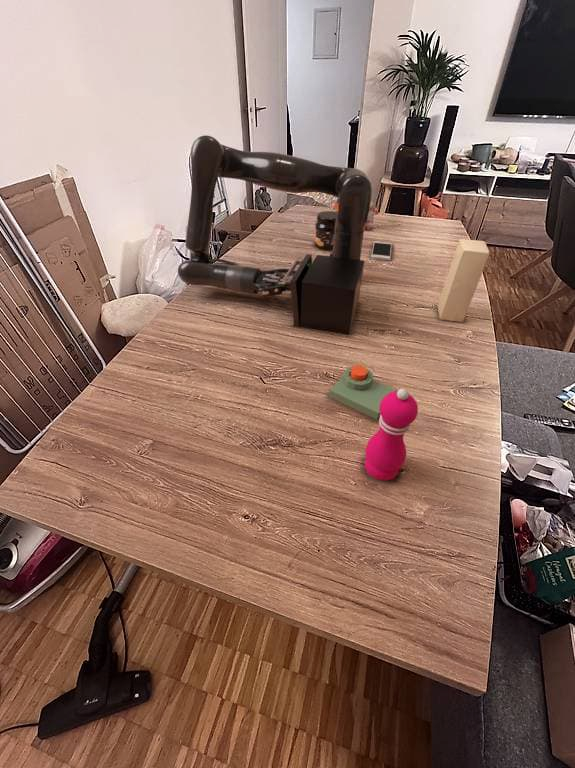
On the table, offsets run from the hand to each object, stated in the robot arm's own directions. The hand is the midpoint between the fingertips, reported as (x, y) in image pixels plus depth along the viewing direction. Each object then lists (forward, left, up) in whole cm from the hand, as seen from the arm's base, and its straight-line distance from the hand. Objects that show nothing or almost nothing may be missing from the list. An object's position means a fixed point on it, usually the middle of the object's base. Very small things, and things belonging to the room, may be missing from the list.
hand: (299, 287), depth 109 cm
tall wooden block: (+38, +25, -8) cm, 47 cm away
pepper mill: (+45, -38, -8) cm, 59 cm away
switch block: (+33, -23, -7) cm, 41 cm away
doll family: (-21, +70, -8) cm, 74 cm away
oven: (+9, +3, -7) cm, 12 cm away
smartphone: (+1, +55, -7) cm, 56 cm away
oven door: (0, 0, -7) cm, 7 cm away
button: (+31, -21, -4) cm, 37 cm away
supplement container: (-19, +47, -8) cm, 52 cm away
